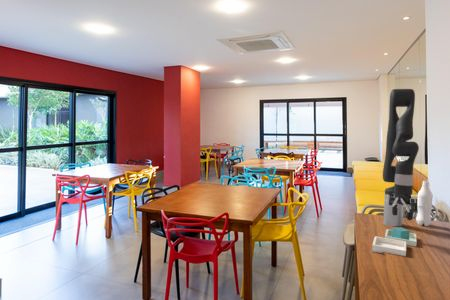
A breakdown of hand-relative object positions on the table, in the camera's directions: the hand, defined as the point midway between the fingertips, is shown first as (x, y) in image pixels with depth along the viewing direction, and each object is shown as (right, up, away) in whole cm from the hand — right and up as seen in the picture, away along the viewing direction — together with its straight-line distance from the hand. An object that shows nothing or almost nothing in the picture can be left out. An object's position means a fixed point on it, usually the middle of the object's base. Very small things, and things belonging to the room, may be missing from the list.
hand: (401, 217), depth 143 cm
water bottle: (+28, -11, +27) cm, 40 cm away
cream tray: (-11, -12, -10) cm, 19 cm away
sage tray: (0, -12, +1) cm, 12 cm away
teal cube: (0, -11, +1) cm, 11 cm away
